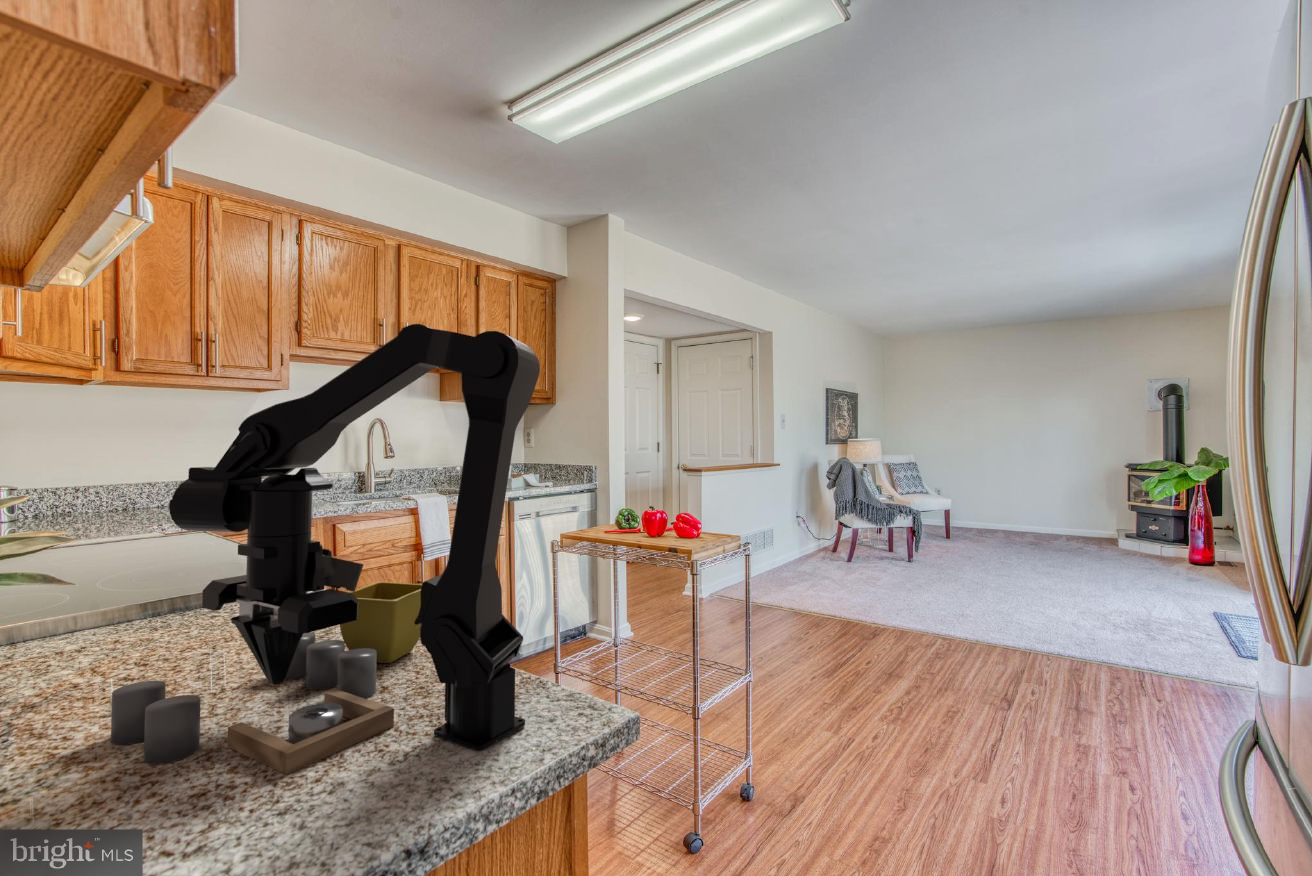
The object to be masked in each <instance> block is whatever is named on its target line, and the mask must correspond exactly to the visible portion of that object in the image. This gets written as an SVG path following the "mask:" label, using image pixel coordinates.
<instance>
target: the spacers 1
mask: <svg viewBox="0 0 1312 876" xmlns="http://www.w3.org/2000/svg"><path fill="white" fill-rule="evenodd" d="M166 687H167V686H166V682H165V681H162V680H144V681H138V682H134V683H130V684H127V685H123V686H121V687H118V688H116V689H114V690H113V691H112V692H111V715H110V717H111V719H110V721H111V722H110V726H111V727H110V743H111V744H113V745H116V746H117V745H118V746H121V745H122V746H123V745H124V746H125V745H133V744H137V743H141V742H143V743H144V745H143V761H144V763H145V764H148V765H164V764H169V763H174V762H178V761H180V760H181V761H182V759H183V760H184V759H185V758H188V757H191V756H192V755H194V754H195V753H197V752H198V751H199V749H200V742H201V741H200V740H201V705H202V704H201V697H200V696H199V695H196V694H181V695H175V696H171V697H170V696H169V697H167V698H166V691H167V690H166Z"/></svg>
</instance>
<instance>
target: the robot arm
mask: <svg viewBox="0 0 1312 876" xmlns="http://www.w3.org/2000/svg"><path fill="white" fill-rule="evenodd" d="M434 369H441V370H445V371H450V372H454V373H459V374H461V394H462V397H463V402H464V405H465V410H466V413H467V417H468V429H467V434H466V443H465V448H464V455H463V461H462V468H461V475H460V482H459V489H458V495H457V500H456V501H457V502H456V506H455V515H454V520H453V527H452V534H451V540H450V547H449V553H448V559H447V563H446V566H445V568H444V569H443V572H442V573H440V574H439V575H436V576H434V577H431V578H429V579H427V580H425V581H423V582H422V583H421V584H422V587H421V606H420V611H419V614H418V616H417V618H416V620H415V622H414V624H415V625H417V624H420V623H421V626H420V638H419V639H420V643H421V645H422V646H423V647H425V649H426V650H427V653H429V654H430V656H431V659H432V662H433V666H434V669H435V671H436V674H437V677H438V680H439V683H441V684H445V685H444V686H445V687H444V689H445V691H444V722H446V723H443V724H442V725H440V726H438V727H436V728H434V729H433V735H434V736H435V737H438V738H440V739H443V740H447V741H449V742H451V743H455V744H458V745H460V746H464V747H466V748H469V749H472V750H475V751H482V750H485V749H487V748H488V747H490V746H492V745H493V744H495V743H497V742H498V741H500V740H503V739H504V738H505V737H508V736H510V734H512V733H515V732H516V731H518V730H520V729H521V728H523V727H525V725H526V719H525V718H523V717H518V716H515V715H516V712H515V711H516V668H515V667H511V663H510V662H511V660H512V659H514V658H516V657H517V656H518V655H519V653H520V649H521V648H522V644H523V642H524V636H523V635H522V633H520V632H519V630H518V629H517V628H516V627H515V626H514V625H513V624H512V623H511V622H510V621H509V620H508V619H507V617H506V616H504V614H503V601H502V599H503V598H502V596H503V594H502V592H503V591H502V585H501V582H500V577H499V573H498V569H497V566H496V565H497V564H496V563H497V562H496V561H497V555H498V548H499V547H498V546H499V540H500V535H501V534H500V533H501V528H502V521H503V516H504V515H503V514H504V508H505V502H506V495H507V490H508V489H507V488H508V480H509V476H510V475H509V474H510V469H511V468H510V467H511V462H512V456H513V455H512V454H513V450H514V444H515V443H514V441H515V436H516V431H517V428H518V426H519V423H520V421H521V420H522V418H523V416H524V414H525V413H526V411H527V409H528V407H529V405H530V403H531V402H532V401H531V400H532V398H533V395H534V392H535V389H536V386H537V383H538V380H539V378H540V377H539V376H540V371H541V368H540V359H539V358H538V356H537V355H536V354H535V352H534V351H533V349H532V348H531V347H530V346H528V345H526V344H525V343H523V342H521V341H519V339H516V338H513V337H512V336H510V335H508V334H506V333H503V332H500V331H497V330H486V331H483V332H481V333H478V334H476V335H475V336H474V335H473V336H472V335H468V334H466V333H465V334H464V333H460V332H456V331H450V330H443V329H439V328H438V329H437V328H432V327H429V326H427V325H424V324H421V323H412V324H409V325H406V326H404V327H403V328H402V329H401V330H400V331H399V332H398V334H397V336H395V337H393V338H392V339H391V340H389V341H388V342H386V343H385V344H382V345H381V346H380V347H378V348H377V349H376V350H374V351H372V352H371V353H369V354H368V355H367V356H365V357H363V358H362V359H360V360H359V361H358V362H356V363H355V364H353V365H351V366H350V367H348V368H347V369H345V370H344V371H343V372H341V373H340V374H338V375H337V376H335V377H334V378H332V379H331V380H329V381H328V382H326V383H325V384H323V385H322V386H320V387H319V388H317V389H315V390H314V391H313V392H311V393H309V394H306V395H304V396H302V397H299V398H296V399H295V398H294V399H291V400H287V401H282V402H279V403H275V404H273V405H271V406H269V407H267V408H264V409H262V410H260V411H257V412H254V413H253V414H250V415H249V416H247V417H246V418H244V420H243V421H242V422H241V424H240V425H239V427H238V432H239V433H238V434H237V436H236V437H235V439H234V440H233V441H232V443H231V444H230V446H229V447H228V448H227V450H226V451H225V452H224V454H223V455H222V456H221V458H220V460H219V461H218V463H217V464H216V466H215V467H213V466H200V467H198V466H197V467H196V466H195V467H189V468H188V477H187V479H185V480H184V481H183V482H181V483H180V484H179V486H177V488H176V489H175V491H174V492H173V495H172V499H170V500H169V504H168V509H169V515H170V517H171V520H172V521H173V523H174V525H176V526H177V527H178V528H180V529H182V530H184V531H193V532H195V531H197V532H226V533H241V532H243V531H247V533H246V534H247V535H246V541H247V542H246V543H241V544H240V543H239V544H237V555H238V556H239V555H240V556H244V557H246V572H245V573H246V574H243V575H237V576H231V577H225V578H220V579H219V578H218V579H213V580H211V581H210V582H209V583H208V584H207V586H205V587H204V589H203V590H202V592H201V593H202V595H201V597H202V599H201V601H202V602H201V603H202V604H201V606H202V607H201V608H202V609H206V610H209V611H213V612H217V611H221V610H222V608H223V607H224V605H225V604H231V603H237V604H239V608H238V609H239V611H238V613H239V614H238V615H237V616H233V617H231V618H230V621H231V623H232V624H233V625H235V627H236V629H237V630H238V632H239V633H240V635H241V637H242V639H244V641H245V643H246V645H247V647H248V648H249V650H250V652H251V653H252V655H253V657H254V659H255V660H256V662H257V664H258V665H259V668H260V669H261V672H262V673H263V675H264V676H265V679H266V680H267V683H268V684H270V685H273V686H276V685H279V684H282V683H284V682H285V678H286V675H287V672H288V670H289V667H290V664H291V662H292V659H293V656H294V654H295V651H296V649H297V646H298V644H299V641H300V639H301V637H302V635H303V633H309V632H310V633H314V632H317V631H319V630H320V631H321V630H324V629H327V628H332V627H335V626H340V624H344V623H348V622H351V621H355V620H357V619H358V614H359V600H358V599H357V598H356V597H355V596H354V595H353V594H351V593H349V592H351V591H355V590H357V586H358V583H359V579H360V577H361V574H362V571H363V567H364V563H359V562H356V561H355V562H354V561H351V560H347V559H344V558H343V559H341V558H337V557H333V556H332V550H331V549H327V548H323V544H322V543H321V541H319V540H312V521H313V520H312V517H313V515H312V513H313V512H312V511H313V492H317V491H327V490H331V489H332V488H333V483H332V482H331V481H329V479H327V478H326V477H325V476H323V475H322V474H321V473H320V472H319V470H318V469H317V468H316V467H310V466H312V465H314V464H315V463H317V462H318V461H319V460H320V459H321V458H322V457H324V455H325V454H326V453H327V452H328V451H330V450H331V448H333V447H334V445H336V443H337V442H338V440H339V437H340V435H341V433H342V432H343V431H344V429H346V428H347V427H348V426H349V425H350V424H351V423H353V422H355V421H356V420H358V419H359V418H361V417H362V416H363V415H365V414H366V413H368V412H370V411H372V410H373V409H374V408H376V407H377V406H379V405H381V404H382V403H383V402H385V401H387V400H388V399H390V398H391V397H392V396H394V395H395V394H397V393H399V392H400V391H402V390H404V388H406V387H407V386H410V385H411V384H412V383H414V382H415V381H417V380H418V379H420V378H421V377H423V376H425V375H426V374H428V373H430V372H431V371H432V370H434ZM299 468H300V469H299ZM295 469H299V470H298V471H297V472H296V473H295V474H289V473H291V472H292V471H294V470H295ZM265 477H266V478H265ZM262 478H265V479H264V480H262ZM325 587H329V588H327V589H325ZM334 588H335V589H334ZM341 588H343V589H345V590H346V591H343V590H339V589H341Z"/></svg>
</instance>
